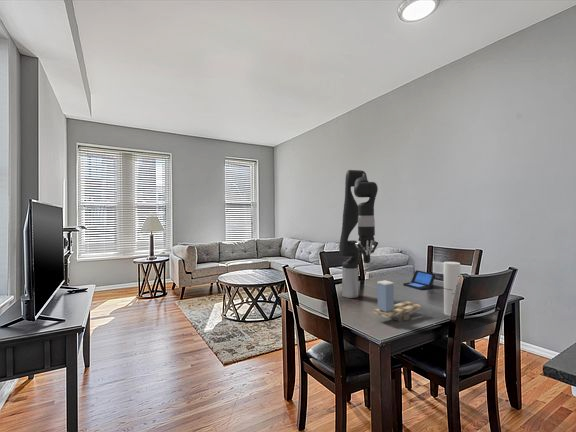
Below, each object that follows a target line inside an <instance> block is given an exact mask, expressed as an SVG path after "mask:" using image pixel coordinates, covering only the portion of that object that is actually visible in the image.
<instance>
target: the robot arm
mask: <svg viewBox="0 0 576 432" xmlns="http://www.w3.org/2000/svg"><path fill="white" fill-rule="evenodd" d="M344 186H345V187H344V188H345V189H344V203H343V212H342V225H341V226H342V227H341V232H340V233H341V234H340V239H339V247H338V251H339V254H340V256H342V257H349V258H348V259H347V260H345V261H343V262H342V264H341V268H342V269H341V271H342V272H341V274H342V276H341V277H342V278H341V279H342V280H341V292H342V293H341V295H342V297H343V298H349V299H353V298H358V297H359V255H360V254H362V257H363V260H362V261H363V262H364V264H370V263H371V255H372V254H374V252H375V250H376V248H377V246H378V245H379V242H378V241H376V240H375V237H374V236H375V235H376V229H375V228H376V227H375V226H376V225H375V224H376V221H375V202H376V198H377V194H378V189H379V187H378V184H377V182H375V181H369V180H368V177H367V173H366V172H365V171H364V170H361V169H359V170H358V169H348V170H346V173H345V184H344ZM352 187H353V192H352ZM353 193H354V195H355V197H357V198H368V200H367V201H364V202H360V203H357V200H355V197H354V195H353ZM356 226H357V235H358V241H357V240H355V239H354V240H349V237H350V235H351V233H352V231H353V230H354V228H356Z"/></svg>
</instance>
